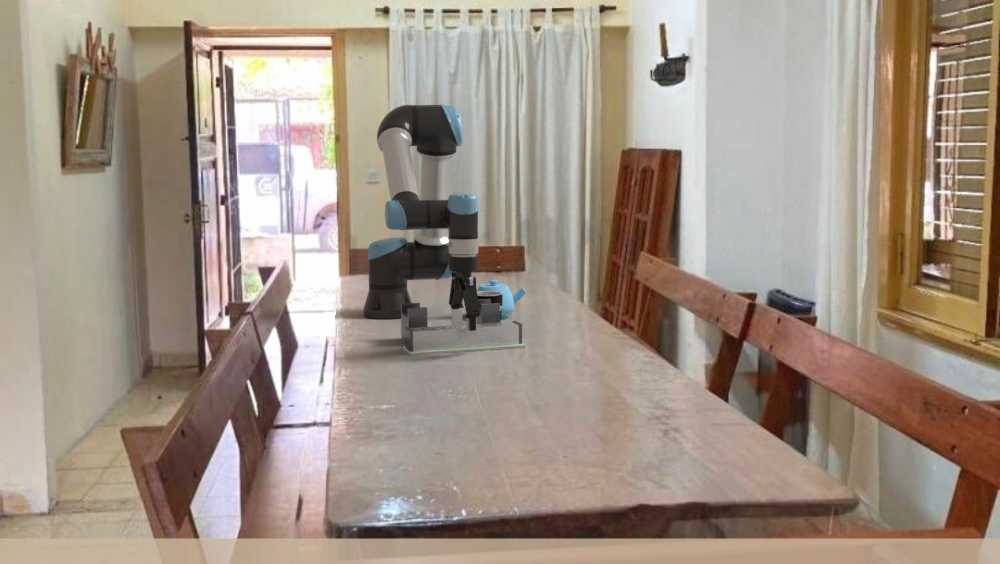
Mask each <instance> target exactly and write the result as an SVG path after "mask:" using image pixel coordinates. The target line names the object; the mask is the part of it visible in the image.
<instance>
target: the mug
mask: <svg viewBox="0 0 1000 564" xmlns="http://www.w3.org/2000/svg"><path fill="white" fill-rule="evenodd" d="M477 296H478V300H479V299H491V304H493V303H499V304H500V322H502V321H501V320H502V319H501V314H502V302H503V294H502V293H501V292H496V291H479V292H477Z"/></svg>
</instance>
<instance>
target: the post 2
mask: <svg viewBox="0 0 1000 564" xmlns="http://www.w3.org/2000/svg"><path fill="white" fill-rule="evenodd" d="M478 303H479V310H480V316H478V317H477V324H483V323H499V322H501V321H500V304H499V303H493V304H491V299H479V300H478Z"/></svg>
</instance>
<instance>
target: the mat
mask: <svg viewBox="0 0 1000 564" xmlns="http://www.w3.org/2000/svg"><path fill="white" fill-rule="evenodd" d="M520 348H522V349H524V348H526V345H525V344H524V343H522V344H511V345H497V346H483V347H469V348H454V349H440V350H426V351H413V352H410V351H409V350H408V349H406V348H405V345H403V346H402V349H403V350H404V351H405V352H406V353H408V355H410V356H411V357H412V356H425V355H426V356H427V355H438V354H439V355H440V354H451V353H463V352H465V353H466V352H479V351H480V352H481V351H493V350H507V349H508V350H509V349H520Z"/></svg>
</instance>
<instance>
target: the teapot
mask: <svg viewBox="0 0 1000 564" xmlns="http://www.w3.org/2000/svg"><path fill="white" fill-rule="evenodd" d="M498 282H499V281H498V280H497V279H491V280H489V283H483V284H480V285H479V286H478V288H477V292H479V291H496V292H501V293H502V294H503V302H502V314H501V320H509V319H508V316H509V315H512V314H513V311H514V309H515V305H516V304H517V303H518V302H519V301H520V300H521V299H522V298H523V297H524V296H525V295H526V294H527V293H528V291H526V290H525V289H524V288H523V287H520V289H519V290H518V291H517V292H516V293H515V295H514V296H513V294H512V292H511V289H510V287H509V285H507V284H505V283H498Z"/></svg>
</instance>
